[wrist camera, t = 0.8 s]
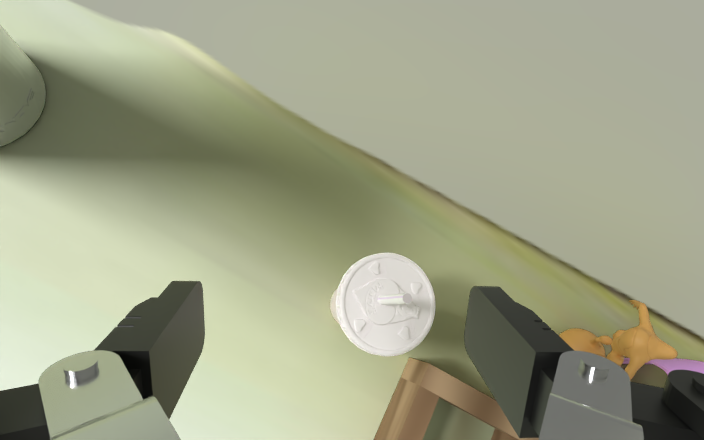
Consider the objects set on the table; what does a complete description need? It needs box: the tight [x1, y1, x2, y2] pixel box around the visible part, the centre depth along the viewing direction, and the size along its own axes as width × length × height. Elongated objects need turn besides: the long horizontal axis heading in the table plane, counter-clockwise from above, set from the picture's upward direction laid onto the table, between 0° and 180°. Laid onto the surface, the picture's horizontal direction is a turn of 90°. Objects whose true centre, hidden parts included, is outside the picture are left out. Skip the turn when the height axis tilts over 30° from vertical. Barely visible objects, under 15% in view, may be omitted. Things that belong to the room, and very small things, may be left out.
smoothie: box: [330, 253, 435, 356], centre depth 27 cm, size 6×6×14 cm
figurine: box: [559, 300, 678, 380], centre depth 32 cm, size 8×6×12 cm
